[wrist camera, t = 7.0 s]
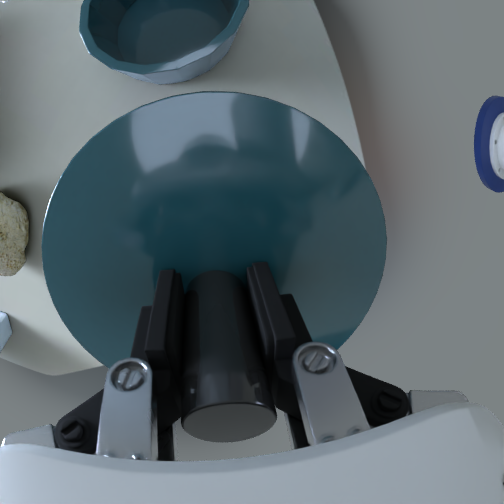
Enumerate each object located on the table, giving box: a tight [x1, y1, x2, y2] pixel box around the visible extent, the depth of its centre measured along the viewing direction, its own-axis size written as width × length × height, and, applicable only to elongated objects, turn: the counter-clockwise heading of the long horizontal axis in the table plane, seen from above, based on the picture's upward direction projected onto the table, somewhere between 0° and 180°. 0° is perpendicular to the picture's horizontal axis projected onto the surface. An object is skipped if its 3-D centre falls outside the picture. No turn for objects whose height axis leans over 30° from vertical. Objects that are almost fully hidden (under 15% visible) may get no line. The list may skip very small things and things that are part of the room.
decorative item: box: [0, 192, 29, 276], centre depth 26 cm, size 12×9×10 cm
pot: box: [79, 0, 249, 85], centre depth 18 cm, size 14×14×10 cm
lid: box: [42, 91, 387, 442], centre depth 9 cm, size 15×15×7 cm
